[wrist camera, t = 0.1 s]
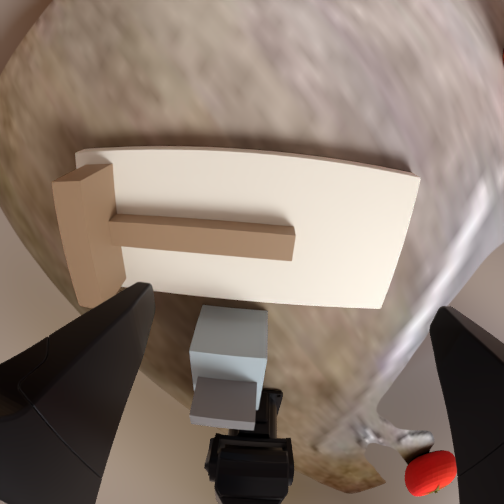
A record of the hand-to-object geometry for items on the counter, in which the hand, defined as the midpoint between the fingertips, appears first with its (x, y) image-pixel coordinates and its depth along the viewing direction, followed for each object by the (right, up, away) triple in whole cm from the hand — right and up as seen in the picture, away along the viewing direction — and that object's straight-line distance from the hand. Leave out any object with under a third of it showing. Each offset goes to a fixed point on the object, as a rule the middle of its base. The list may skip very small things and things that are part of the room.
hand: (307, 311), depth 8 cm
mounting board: (-3, +4, +15) cm, 15 cm away
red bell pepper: (+40, -47, +41) cm, 74 cm away
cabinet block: (-3, -7, +21) cm, 22 cm away
